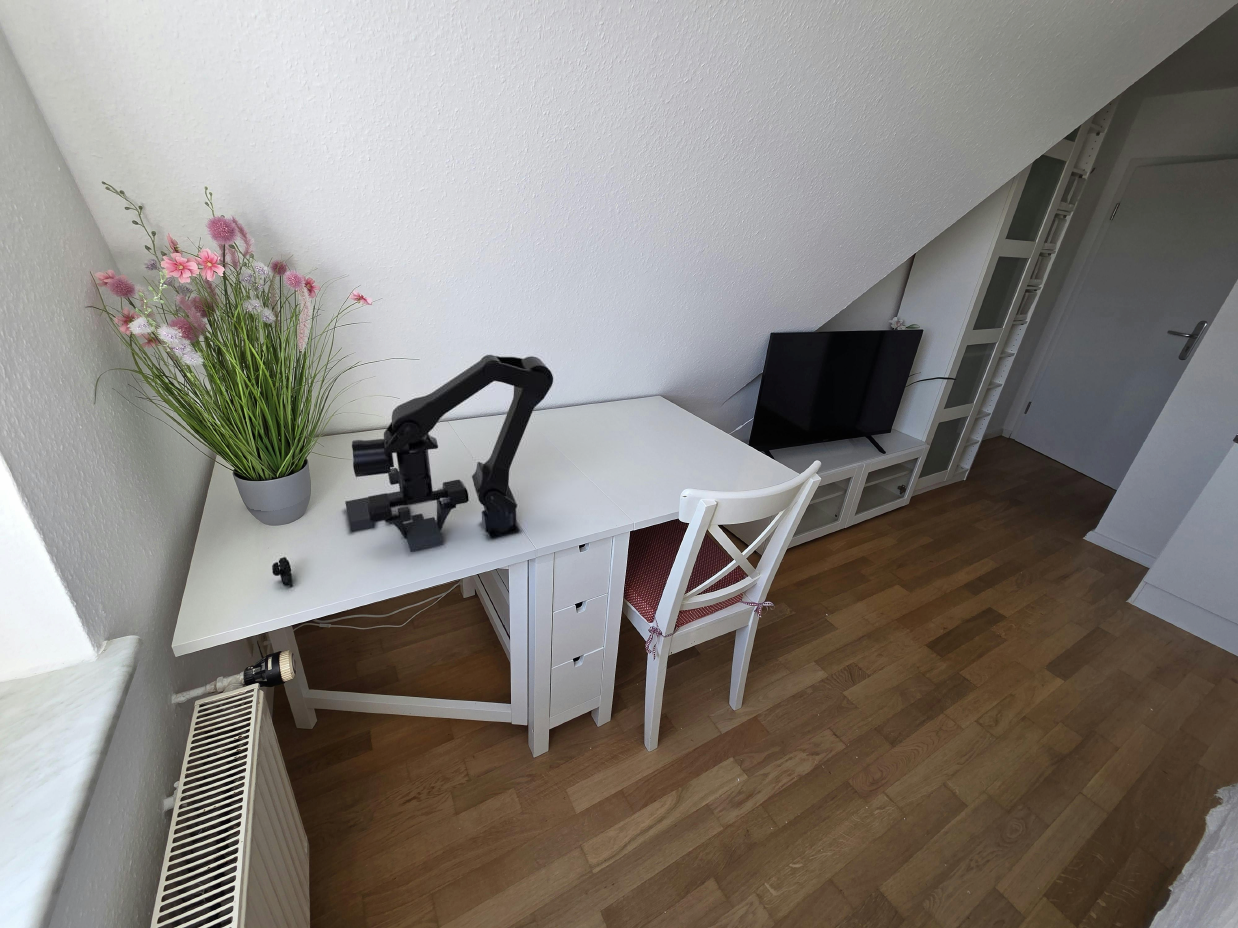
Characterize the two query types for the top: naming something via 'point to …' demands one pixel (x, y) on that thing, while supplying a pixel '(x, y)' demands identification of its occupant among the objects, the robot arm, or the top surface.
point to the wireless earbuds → (283, 571)
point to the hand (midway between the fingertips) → (422, 533)
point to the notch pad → (360, 513)
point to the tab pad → (422, 533)
